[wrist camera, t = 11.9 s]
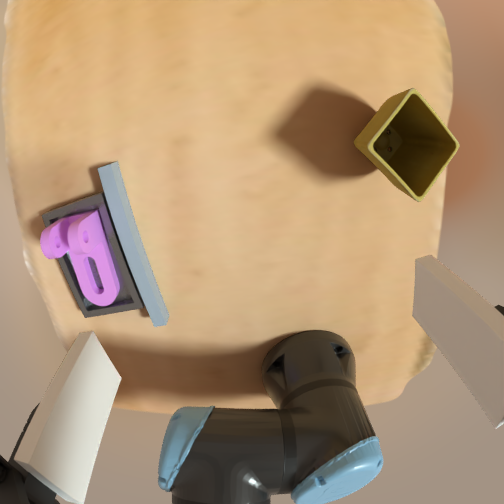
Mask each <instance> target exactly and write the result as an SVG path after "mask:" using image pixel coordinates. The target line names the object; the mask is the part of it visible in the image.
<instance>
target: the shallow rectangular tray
mask: <svg viewBox="0 0 504 504" xmlns="http://www.w3.org/2000/svg"><path fill="white" fill-rule="evenodd" d="M96 209H99V211H100V215H101V219H102V223H103V227H104V231H105V235H106V239H107V243H108V247H109V250H110V254H111V257H112V261H113V264H114V268H115V271H116V275H117V278H118V281H119V285H120V289H119V293H118V295H117V297H116V298H115V300H114V301H113V302H112V303H111V304H110V305H107V306H99V305H95V304H93V303H92V302H90V301H89V300H88V299H87V298H86V297H85V296H84V294H83V292H82V290H81V288H80V285H79V282H78V279H77V276H76V273H75V270H74V267H73V264H72V261H71V258H70V255H69V251H68V252H66V253H65V254H64V255H63V256H62V257H60V258H58V261H59V263H60V265H61V268H62V270H63V272H64V275H65V277H66V279H67V282H68V284H69V286H70V288H71V290H72V293H73V295H74V297H75V299H76V301H77V303H78V305H79V307H80V309H81V311H82V313H83V315H84V317H85V318H87V317H93V316H100V315H106V314H112V313H118V312H123V311H129V310H135V309H141V308H144V305H145V304H144V302H143V299H142V297H141V294H140V292H139V289H138V287H137V285H136V282H135V280H134V277H133V274H132V272H131V269H130V267H129V264H128V261H127V259H126V256H125V253H124V250H123V248H122V245H121V242H120V239H119V236H118V234H117V231H116V228H115V225H114V222H113V219H112V216H111V212H110V209H109V206H108V203H107V200H106V196H105V193H104V191H103V192H100V193H97V194H94V195H91V196H88V197H85V198H83V199H80V200H77V201H74V202H71V203H69V204H66V205H63V206H61V207H58V208H55V209H53V210H50V211H48V212H46V213H45V214H43V215H42V218H43V221H44V224H45V227H46V228H47V227H48V226H50V225H51V224H53V223H54V222H56V221H58V220H59V219H61V218H62V217H64V216H67V215H72V214H76V213H81V212H86V211H91V210H96ZM88 261H89V265H90V268H91V271H92V274H93V277H94V280H95V283H96V286H97V287H98V288H100V289H104V287H103V284H102V281H101V278H100V275H99V272H98V269H97V266H96V263H95V260H94V259H93V258H91V257H88Z"/></svg>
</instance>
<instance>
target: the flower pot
mask: <svg viewBox="0 0 504 504" xmlns="http://www.w3.org/2000/svg"><path fill="white" fill-rule="evenodd" d="M387 130H389V131H390V133H389V134H387V132H386V131H387ZM354 145H355V147H356V148H357V149H358V150H360V151H361V152H362V153H363V154H364V155H365V156H366V157H367V158H368V159H369V160H370V161H371V162H372V163H373V164H374V165H375V166H376V167H377V168H378V169H379V170H380V171H381V172H382V173H383V174H384V175H385V176H386V177H387V178H388V179H389V180H390V182H391V183H392V184H393V185H394V186H396V187H397V188H398V189H400V190H401V191H403V192H404V193H405V194H407V195H408V196H410V197H411V198H413V199H414V200H416V201H417V202H421V201H422V200H423V199H424V197H425V196H426V194H427V193H428V192H429V190H430V189H431V187H432V186H433V184H434V183H435V182H436V180H437V178H438V177H439V176H440V174H441V173H442V171H443V170H444V169H445V167H446V166H447V165H448V163H449V162H450V160H451V159H452V158H453V156H454V155H455V154H456V152H457V150H458V148H459V143H458V141H457V140H456V138H455V137H454V136H453V134H452V133H451V132H450V131H449V130H448V128H447V127H446V125H445V124H444V123H443V121H442V120H441V119H440V118H439V116H438V115H437V114H436V112H435V111H434V110H433V109H432V108H431V106H430V105H429V104H428V103H427V101H426V100H425V99H424V98H423V97H422V96H421V94H420V93H419V92H418V91H417V90H416V89H415V88H411V89H409V90H406V91H404V92H401V93H399V94H397V95H394V96H392V97H390V98H389V99H388V100H387V101H386V102H385V103H384V104H383V105H382V106H381V107H380V109H379V110H378V111H377V113H376V114H375V115H374V116H373V118H372V119H371V120H370V122H369V123H368V124H367V125H366V127H365V128H364V129H363V130H362V131H361V133H360V134H359V135H358V136H357V137H356V139H355V140H354ZM388 147H390V148H391V151H388ZM373 148H376V151H374V149H373Z"/></svg>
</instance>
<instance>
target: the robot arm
mask: <svg viewBox="0 0 504 504" xmlns="http://www.w3.org/2000/svg"><path fill="white" fill-rule="evenodd" d="M412 316H413V317H414V318H415V320H416V321H417V322H418V323H419V325H420V326H421V327H422V328H423V329H424V331H425V332H426V333H427V334H428V336H429V337H430V338H431V340H432V341H433V342H434V343H435V345H436V346H437V347H438V349H439V350H440V351H441V352H442V354H443V355H444V356H445V358H446V359H447V360H448V362H449V363H450V364H451V366H452V367H453V368H454V370H455V371H456V372H457V374H458V375H459V376H460V378H461V379H462V380H463V382H464V383H465V385H466V386H467V388H468V389H469V390H470V392H471V393H472V395H473V396H474V397H475V399H476V400H477V402H478V403H479V405H480V406H481V407H482V409H483V411H484V412H485V414H486V415H487V416H488V418H489V420H490V421H491V423H492V424H493V426H494V427H495V429H496V428H498V427H499V426H501V425H502V424H504V307H502V306H500V305H497V306H495V307H493V306H492V305H491V304H490V303H489V302H488V301H487V300H486V299H484V298H483V297H482V296H481V295H480V294H479V293H477V292H476V291H475V290H474V289H473V288H471V287H470V286H469V285H468V284H467V283H466V282H464V281H463V280H462V279H461V278H459V277H458V276H457V275H456V274H455V273H453V272H452V271H451V270H450V269H448V268H447V267H446V266H445V265H443V264H442V263H441V262H440V261H438V260H437V259H436V258H434V257H433V256H432V255H428V256H425V257H421V258H418V259H415V287H414V303H413V315H412ZM262 379H263V384H264V387H265V390H266V391H267V393H268V395H269V396H270V398H271V399H272V401H273V402H274V404H275V406H276V407H277V409H234V408H215V406H210V407H189V406H188V407H182V408H180V409H178V410H177V411H176V412H175V413H174V414H173V416H172V417H171V419H170V422H169V424H168V427H167V430H166V433H165V436H164V440H163V444H162V449H161V454H160V460H159V468H158V474H159V478H158V484H159V487H160V488H161V489H163V490H165V491H166V492H170V491H171V492H172V504H270V497H271V495H276V494H291V498H292V499H293V500H294V502H295V503H296V504H324V503H328V502H331V501H334V500H337V499H340V498H342V497H345V496H347V495H349V494H351V493H353V492H355V491H357V490H359V489H360V488H362V487H363V486H365V485H366V484H368V483H369V482H370V481H371V480H372V479H374V478H375V477H376V476H377V474H378V473H379V472H380V470H381V468H382V466H383V456H382V452H381V449H380V445H379V439H378V438H377V437H376V435H375V432H374V430H373V427H372V425H371V423H370V420H369V418H368V415H367V413H366V411H365V408H364V406H363V404H362V401H361V399H360V397H359V395H358V392H357V390H356V364H355V357H354V354H353V352H352V350H351V348H350V346H349V344H348V343H347V341H346V340H345V339H343V338H342V337H341V336H339V335H337V334H335V333H332V332H327V331H308V332H303V333H299V334H296V335H293V336H291V337H289V338H287V339H285V340H283V341H281V342H280V343H278V344H277V345H276V346H275V347H274V348H273V349H272V350H271V351H270V352H269V353H268V354H267V356H266V357H265V359H264V362H263V365H262ZM120 381H121V376H120V375H119V373H118V372H117V370H116V369H115V367H114V365H113V364H112V362H111V361H110V359H109V357H108V356H107V354H106V352H105V351H104V349H103V347H102V345H101V344H100V342H99V340H98V339H97V337H96V335H95V333H94V331H89V332H82V333H79V335H78V336H77V338H76V339H75V341H74V343H73V344H72V346H71V348H70V349H69V351H68V353H67V355H66V356H65V358H64V360H63V361H62V363H61V365H60V367H59V369H58V370H57V372H56V374H55V376H54V377H53V379H52V381H51V383H50V385H49V387H48V389H47V391H46V393H45V394H44V396H43V398H42V400H41V402H40V403H39V404H38V405H37V406H36V407H35V409H34V410H33V411H32V412H31V414H30V416H29V419H28V421H27V423H26V425H25V427H24V429H23V430H24V431H23V432H22V433H21V435H20V437H19V439H18V441H17V444H16V446H15V448H14V450H13V453H12V455H11V457H10V460H9V461H8V462H7V461H6V460H5V459H4V458H3V457H2V456H1V455H0V504H60V503H59V502H58V501H57V500H56V499H55V497H56V494H58V495H59V496H60V497H62V498H63V499H65V500H66V501H68V502H72V503H76V504H84V500H85V496H86V492H87V488H88V485H89V481H90V477H91V473H92V469H93V466H94V462H95V459H96V455H97V452H98V449H99V445H100V442H101V439H102V435H103V432H104V429H105V426H106V423H107V419H108V416H109V413H110V410H111V407H112V404H113V401H114V398H115V395H116V393H117V390H118V387H119V384H120Z"/></svg>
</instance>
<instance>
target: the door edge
mask: <svg viewBox="0 0 504 504" xmlns="http://www.w3.org/2000/svg"><path fill="white" fill-rule="evenodd" d="M98 172H99V176H100V179H101V183H102V186H103V190H104V193H105V196H106V200H107V203H108V206H109V209H110V212H111V216H112V219H113V222H114V225H115V228H116V231H117V234H118V236H119V239H120V242H121V245H122V248H123V250H124V253H125V256H126V259H127V261H128V264H129V267H130V269H131V272H132V274H133V277H134V280H135V282H136V285H137V287H138V289H139V292H140V294H141V297H142V299H143V302H144V304H145V306H146V309H147V311H148V313H149V316H150V318H151V320H152V322H153V325H154V327H157V326H163V325H167V321H168V318H169V313H168V311H167V308H166V306H165V303H164V301H163V298H162V295H161V293H160V290H159V288H158V285H157V282H156V280H155V277H154V274H153V272H152V269H151V266H150V263H149V260H148V258H147V255H146V252H145V249H144V246H143V243H142V240H141V237H140V234H139V231H138V228H137V225H136V222H135V219H134V216H133V212H132V209H131V206H130V203H129V199H128V196H127V193H126V189H125V186H124V182H123V179H122V175H121V171H120V168H119V164H118V162H115V163H112V164H109V165H106V166H103V167H100V168H98Z"/></svg>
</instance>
